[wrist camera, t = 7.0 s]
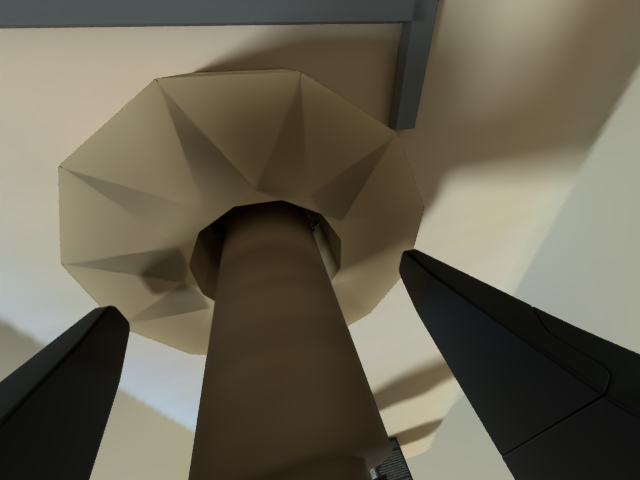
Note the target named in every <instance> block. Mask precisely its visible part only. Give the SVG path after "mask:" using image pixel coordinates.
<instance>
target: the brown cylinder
mask: <svg viewBox="0 0 640 480" xmlns="http://www.w3.org/2000/svg"><path fill="white" fill-rule="evenodd" d="M392 451H393V450H392V446H391V443H390V441H389V438H388V435H387V432H386V430H385V427H384V424H383V422H382V419H381V416H380V413H379V411H378V408H377V405H376V403H375V400H374V397H373V394H372V392H371V389H370V386H369V384H368V381H367V378H366V375H365V373H364V370H363V367H362V365H361V362H360V359H359V357H358V354H357V351H356V348H355V346H354V343H353V340H352V338H351V335H350V332H349V329H348V327H347V324H346V321H345V319H344V316H343V313H342V310H341V308H340V305H339V302H338V300H337V297H336V294H335V291H334V289H333V286H332V283H331V281H330V278H329V275H328V273H327V270H326V267H325V264H324V262H323V259H322V256H321V254H320V251H319V248H318V245H317V243H316V240H315V237H314V235H313V232H312V229H311V226H310V224H309V221H308V218H307V216H306V213H305V210H304V208H303V207H301V206H298V205H295V204H292V203H289V202H287V201H284V200H278V201H270V202H263V203H255V204H248V205H241V206H234V207H233V208H231V209H230V210H229V211H228V216H227V223H226V230H225V236H224V243H223V250H222V257H221V263H220V270H219V277H218V284H217V290H216V297H215V304H214V310H213V317H212V324H211V331H210V337H209V344H208V351H207V358H206V364H205V371H204V378H203V385H202V391H201V398H200V405H199V411H198V418H197V425H196V432H195V439H194V445H193V453H192V459H191V465H190V472H189V479H188V480H369V473H368V472H369V471H371V470H372V469H374V468H375V467H377V466H378V465H380V464H381V463H383V462H384V461H385V460H386V459H387V458H388V457H389V456H390V455H391V454H392Z"/></svg>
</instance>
